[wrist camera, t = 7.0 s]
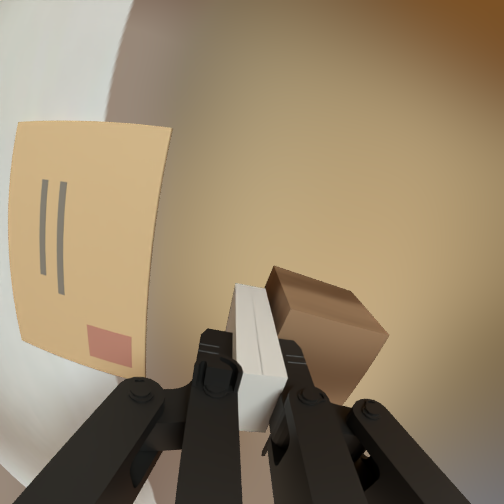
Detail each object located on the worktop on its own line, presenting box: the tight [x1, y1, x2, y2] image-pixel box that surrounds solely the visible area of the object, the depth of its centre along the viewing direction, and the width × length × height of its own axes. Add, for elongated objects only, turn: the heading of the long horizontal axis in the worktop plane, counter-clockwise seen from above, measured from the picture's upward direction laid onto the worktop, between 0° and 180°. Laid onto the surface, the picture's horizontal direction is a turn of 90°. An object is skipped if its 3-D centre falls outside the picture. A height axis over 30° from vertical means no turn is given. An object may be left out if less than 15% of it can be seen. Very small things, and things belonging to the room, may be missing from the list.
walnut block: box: [265, 266, 389, 406], centre depth 14 cm, size 5×5×5 cm
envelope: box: [8, 121, 173, 379], centre depth 14 cm, size 16×11×1 cm
